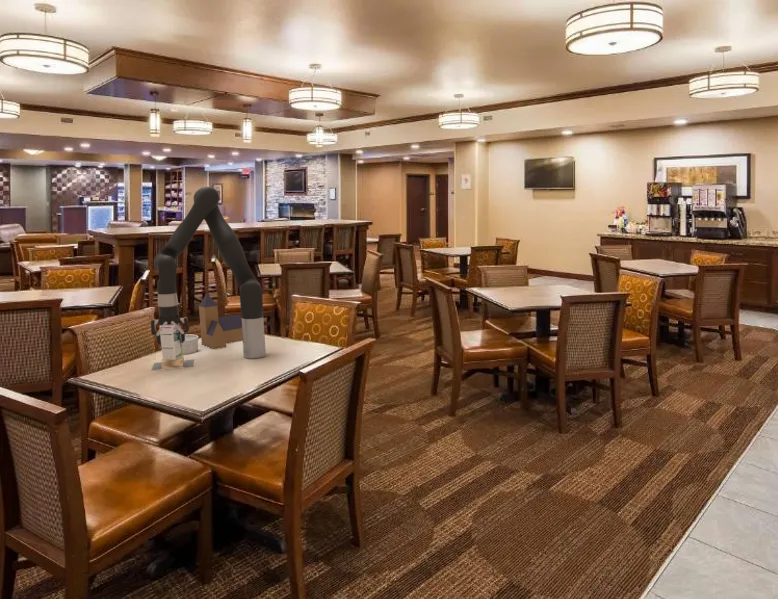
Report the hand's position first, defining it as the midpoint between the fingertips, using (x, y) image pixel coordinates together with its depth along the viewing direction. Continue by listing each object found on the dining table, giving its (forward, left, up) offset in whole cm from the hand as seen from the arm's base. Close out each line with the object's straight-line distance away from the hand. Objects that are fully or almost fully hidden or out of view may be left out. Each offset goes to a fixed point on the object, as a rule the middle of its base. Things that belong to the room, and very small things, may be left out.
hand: (171, 343), depth 242 cm
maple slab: (0, 0, -9) cm, 9 cm away
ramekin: (-3, -23, -10) cm, 25 cm away
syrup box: (0, 0, -6) cm, 6 cm away
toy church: (-21, -34, -10) cm, 41 cm away
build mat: (0, -1, -10) cm, 10 cm away
